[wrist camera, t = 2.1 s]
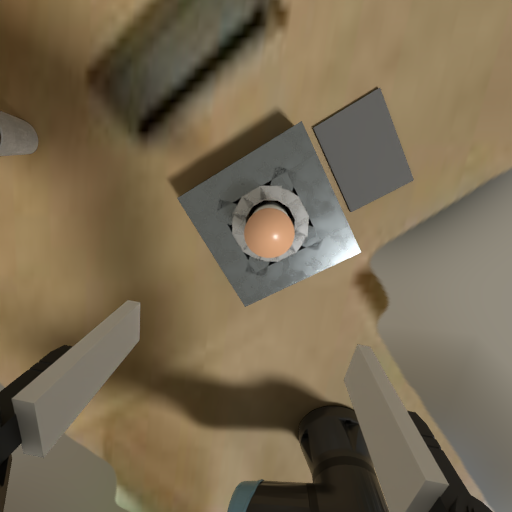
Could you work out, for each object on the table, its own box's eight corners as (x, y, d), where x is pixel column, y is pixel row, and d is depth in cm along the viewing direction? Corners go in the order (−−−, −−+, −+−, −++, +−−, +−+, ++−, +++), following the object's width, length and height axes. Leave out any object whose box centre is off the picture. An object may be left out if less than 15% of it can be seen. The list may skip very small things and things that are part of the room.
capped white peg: (295, 227, 40) (303, 244, 29) (262, 244, 41) (259, 266, 31) (278, 194, 38) (279, 198, 28) (245, 212, 40) (234, 223, 29)
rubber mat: (412, 180, 36) (413, 180, 36) (350, 211, 38) (351, 212, 38) (378, 88, 33) (379, 87, 33) (312, 128, 35) (313, 127, 35)
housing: (350, 243, 40) (361, 252, 35) (248, 293, 44) (245, 306, 39) (297, 129, 35) (301, 121, 31) (188, 196, 39) (177, 198, 35)
